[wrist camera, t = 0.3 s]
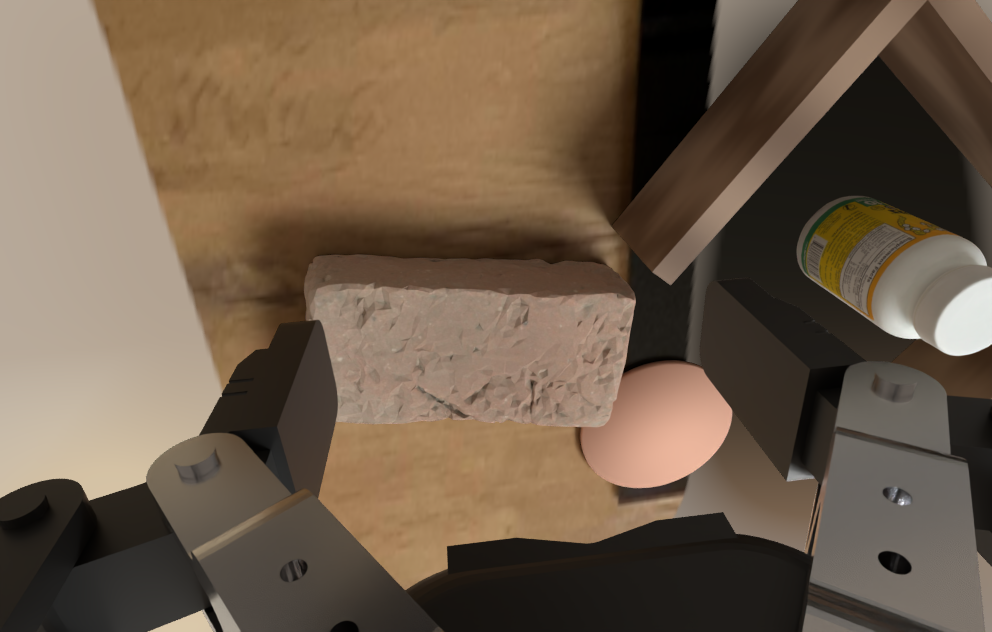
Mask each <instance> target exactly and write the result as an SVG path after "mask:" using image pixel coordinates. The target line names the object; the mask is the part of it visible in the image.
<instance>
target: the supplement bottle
mask: <svg viewBox="0 0 992 632" xmlns="http://www.w3.org/2000/svg"><path fill="white" fill-rule="evenodd" d="M796 252H797V260H798V264H799V266H800V268H801V269H802V271H803V272H804V274H805V275H806V276H807V277H809V278H810V279H811V280H813V281H814V282H816V283H817V284H818V285H820V286H821V287H823V288H824V289H826V290H827V291H829V292H830V293H831V294H833V295H834V296H836V297H837V298H839V299H840V300H841V301H843V302H844V303H846V304H847V305H849V306H850V307H852V308H853V309H854V310H856V311H857V312H859V313H860V314H862V315H863V316H864V317H866V318H867V319H868V320H870V321H871V322H873V323H874V324H875V325H877V326H878V327H880V328H881V329H883V330H884V331H886V332H887V333H889V334H891V335H894V336H896V337H900V338H907V339H920V338H921V339H922V340H923V341H925V342H927V343H929V344H931V345H932V346H934V347H935V348H937V349H938V350H940V351H942V352H944V353H946V354H949V355H954V356H962V355H968V354H972V353H975V352H978V351H980V350H982V349H984V348H986V347H988V346H990V345H991V344H992V268H991V267H989V266H987V263H986V260H985V257H984V255H983V254H982V252H981V251H980V249H979V248H978V247H977V246H976V245H975V244H973V243H972V242H970V241H969V240H967V239H965V238H963V237H960V236H958V235H956V234H954V233H951V232H949V231H947V230H944V229H942V228H940V227H938V226H935V225H933V224H931V223H928V222H926V221H924V220H921V219H919V218H917V217H915V216H912V215H910V214H908V213H906V212H903V211H901V210H899V209H896V208H894V207H892V206H889V205H887V204H885V203H883V202H880V201H878V200H876V199H873V198H870V197H866V196H847V197H841V198H839V199H836V200H834V201H831V202H829V203H827V204H826V205H824V206H823V207H822V208H820V209H819V210H818V211H817V212H816V213H815V214H814V215H813V216H812V217H811V218H810V219H809V221H808V222H807V223H806V224H805V226H804V228H803V230H802V232H801V234H800V237H799V239H798V243H797V251H796Z"/></svg>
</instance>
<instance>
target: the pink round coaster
mask: <svg viewBox="0 0 992 632" xmlns="http://www.w3.org/2000/svg"><path fill="white" fill-rule="evenodd" d="M731 419H732V409H731V408H730V406H729V405H728V404H727V402H726V401H725V400H724V398H723V397H722V396H721V394H720V393H719V392H718V390H717V389H716V388H715V386H714V385H713V384H712V383H711V381H710V380H709V379H708V377H707V376H706V374H705V372H704V370H703V367H702V366H699V365H697V364H694V363H690V362H686V361H678V360H664V361H657V362H652V363H648V364H644V365H641V366H638V367H636V368H633V369H631V370H629V371H627V372H625V373H623V374H622V377H621V381H620V385H619V389H618V393H617V399H616V400H615V401H614V402H613V409H612V412H611V415H610V419H609V420H608V421H607V422H606V424H605V425H604V426H600V427H581V431H580V442H581V447H582V450H583V453H584V456H585V458H586V460H587V462H588V464H589V465H590V467H591V468H592V469H593V470H594V472H595V473H597V474H598V475H599V476H600V477H602V478H603V479H605V480H607V481H609V482H611V483H613V484H616V485H620V486H624V487H630V488H648V487H655V486H660V485H664V484H668V483H670V482H673V481H676V480H678V479H680V478H683V477H685V476H687V475H688V474H690V473H692V472H693V471H695V470H696V469H698V468H699V467H700V466H702V465H703V464H704V463H705V462H707V461H708V460H709V459H710V458H711V457H712V455H714V454H715V452H716V451H717V450H718V448H719V447H720V446H721V444H722V442H723V441H724V439H725V437H726V435H727V433H728V431H729V427H730V424H731Z"/></svg>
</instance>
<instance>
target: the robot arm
mask: <svg viewBox="0 0 992 632" xmlns="http://www.w3.org/2000/svg"><path fill="white" fill-rule="evenodd" d="M700 358H701V363H702V367H703V370H704V372H705V374H706V376H707V377H708V379H709V380H710V381H711V383H712V384H713V385H714V386H715V388H716V389H717V390H718V392H719V393H720V394H721V396H722V397H723V398H724V400H725V401H726V402H727V404H728V405H729V406H730V408H731V409H732V410H733V411H734V413H735V414H736V415H737V417H738V418H739V419H740V421H741V422H742V423H743V425H744V426H745V427H746V429H747V430H748V431H749V432H750V434H751V435H752V436H753V438H754V439H755V440H756V442H757V443H758V444H759V446H760V447H761V448H762V450H763V451H764V452H765V454H766V455H767V456H768V458H769V459H770V460H771V461H772V463H773V464H774V465H775V467H776V468H777V469H778V471H779V472H780V473H781V475H782V476H783V477H784V479H785V480H786V481H794V480H802V479H810V478H815V479H816V480H817V481H818V487H817V491H816V495H815V499H814V504H813V509H812V514H811V519H810V524H809V530H808V535H807V540H806V545H805V550H804V552H802V551H799V550H797V549H795V548H792V547H789V546H787V545H784V544H781V543H778V542H775V541H771V540H767V539H764V538H760V537H754V536H749V535H742V534H735V532H734V530H733V528H732V527H731V525H730V523H729V522H728V520H727V518H726V517H725V515H724V513H723V512H722V513H714V514H706V515H697V516H689V517H681V518H673V519H665V520H657V521H654V522H651V523H648V524H646V525H643V526H640V527H637V528H635V529H632V530H629V531H626V532H624V533H621V534H618V535H615V536H613V537H610V538H607V539H604V540H602V541H599V542H595V543H589V544H585V543H572V542H560V541H548V540H536V539H525V538H511V539H503V540H494V541H486V542H478V543H470V544H462V545H454V546H447V556H448V569H446V570H444V571H441V572H439V573H436V574H434V575H432V576H430V577H428V578H426V579H424V580H421V581H420V582H418V583H416V584H415V585H413V586H412V587H410V588H408V589H407V590H404V589H403V588H402V587H401V586H400V585H399V584H398V583H397V582H396V581H395V580H394V579H393V578H392V576H391V575H390V574H389V573H388V572H387V571H386V570H385V569H384V568H383V567H382V566H381V565H380V564H379V563H378V562H377V561H376V560H375V559H374V558H373V557H372V555H371V554H370V553H369V552H368V551H367V550H366V549H365V548H364V547H363V546H362V545H361V544H360V543H359V542H358V541H357V540H356V539H355V538H354V537H353V536H352V534H351V533H350V532H349V531H348V530H347V529H346V528H345V527H344V526H343V525H342V524H341V523H340V522H339V521H338V520H337V519H336V518H335V517H334V516H333V514H332V513H331V512H330V511H329V510H328V509H327V508H326V507H325V506H324V505H323V504H322V503H321V502H320V501H319V500H318V496H319V492H320V487H321V483H322V479H323V474H324V470H325V466H326V461H327V457H328V453H329V448H330V444H331V440H332V435H333V431H334V427H335V422H336V418H337V412H338V395H337V387H336V382H335V377H334V373H333V368H332V364H331V359H330V355H329V350H328V346H327V341H326V337H325V332H324V329H323V326H322V323H321V322H320V320H310V321H300V322H290V323H281V324H280V325H279V327H278V329H277V331H276V334H275V336H274V338H273V340H272V342H271V344H270V346H269V348H268V349H260V350H255V351H254V352H253V353H252V354H250V355H249V356H248V357H247V358H245V359H244V360H243V361H242V362H240V363H239V364H238V365H237V367H236V369H235V371H234V372H233V374H232V376H231V378H230V380H229V384H227V385H226V387H225V389H224V391H223V393H222V397H220V398H219V400H218V402H217V404H216V405H215V407H214V409H213V411H212V413H211V415H210V416H209V419H208V420H207V422H206V424H205V426H204V427H203V429H202V431H201V433H200V435H199V436H197V437H194V438H190V439H188V440H186V441H183V442H181V443H179V444H177V445H175V446H173V447H172V448H170V449H169V450H167V451H166V452H164V453H163V454H162V455H161V456H160V457H159V458H157V459H156V460H155V462H154V463H153V464H152V465H151V467H150V469H149V470H148V473H147V476H146V482H145V483H143V484H140V485H137V486H134V487H131V488H128V489H125V490H122V491H119V492H115V493H112V494H109V495H106V496H103V497H99V498H96V499H93V500H90V501H89V500H88V498H87V496H86V494H85V492H84V490H83V488H82V486H81V485H80V484H79V483H78V482H76V481H73V480H69V479H51V480H46V481H41V482H37V483H34V484H31V485H28V486H25V487H22V488H20V489H18V490H16V491H13V492H11V493H9V494H7V495H5V496H4V497H2V498H0V632H148V631H150V630H153V629H155V628H158V627H160V626H163V625H165V624H168V623H171V622H173V621H176V620H178V619H181V618H183V617H186V616H188V615H191V614H193V613H196V612H198V611H201V610H202V611H203V614H204V615H205V617H206V619H207V621H208V623H209V624H210V626H211V628H212V630H213V632H985V625H984V615H983V605H982V596H981V586H980V577H979V567H978V557H977V551H978V552H979V554H980V555H981V556H982V557H983V558H984V559H985V560H986V561H987V562H988V563H989V564H990V565H991V566H992V399H985V398H973V397H960V396H948V395H947V394H946V391H945V389H944V388H943V386H942V385H941V384H940V383H939V382H938V381H936V380H935V379H934V378H932V377H931V376H929V375H927V374H925V373H923V372H921V371H919V370H916V369H914V368H911V367H908V366H905V365H901V364H896V363H891V362H881V361H868V362H867V361H865V360H864V359H863V358H861V357H860V356H859V355H858V354H857V353H855V352H854V351H853V350H852V349H850V348H849V347H848V346H847V345H845V344H844V343H843V342H842V341H840V340H839V339H838V338H837V337H835V336H834V335H833V334H828V330H827V329H825V328H824V327H823V326H822V325H820V324H819V323H815V320H814V319H813V318H812V317H810V316H809V315H808V314H807V313H805V312H804V311H803V310H802V309H800V308H799V307H797V306H794V305H792V304H789V303H787V302H785V301H782V300H780V299H778V298H773V297H772V296H771V295H770V294H768V293H767V292H766V291H765V290H764V289H762V288H761V287H760V286H758V284H756V283H755V282H754V281H753V280H751V279H750V278H739V279H729V280H720V281H712V282H711V283H710V284H709V285H708V287H707V291H706V296H705V305H704V315H703V323H702V333H701V342H700Z"/></svg>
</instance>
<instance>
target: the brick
mask: <svg viewBox="0 0 992 632" xmlns="http://www.w3.org/2000/svg"><path fill="white" fill-rule="evenodd" d="M304 296H305V300H306V308H307V310H306V317H305V318H306V321H310V320H320V322H321V323H322V326H323V329H324V332H325V337H326V341H327V346H328V350H329V355H330V359H331V364H332V368H333V373H334V377H335V382H336V387H337V395H338V412H337V418H336V422H348V423H365V424H399V423H410V422H417V421H437V420H443V419H446V418H448V417H449V418H451V419H452V420H466V419H475V420H478V421H483V422H489V423H495V421H497V422H500V423H502V422H504V421H506V420H511V421H514V422H518V423H524V424H527V423H533V424H536V425H547V426H569V427H600V426H604V425H605V424H606V422H607V421H608V420H609V419H610V415H611V412H612V409H613V402H614V401H615V400H616V399H617V393H618V389H619V385H620V381H621V377H622V374H623V370H624V366H625V361H626V356H627V348H628V342H629V336H630V330H631V324H632V319H633V311H634V307H635V303H636V300H635V294H634V291H632V289H631V287H630V286H629V285H628V284H627V283H626V282H625V281H624V280H623V279H622V278H621V277H620V276H619V274H618V273H616V272H614V271H613V269H612V268H610V267H608V266H606V265H604V264H597V263H594V262H575V261H567V260H566V261H562V262H559V263H554V264H549V263H547V262H545V261H544V260H541V259H530V260H508V259H490V258H482V259H475V260H473V259H468V258H459V259H440V258H403V259H402V258H397V257H391V256H377V255H360V254H356V255H321V256H317V257H315V258H314V259H313V263H310V264H309V267H308V272H307V275H306V277H305V283H304Z"/></svg>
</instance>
